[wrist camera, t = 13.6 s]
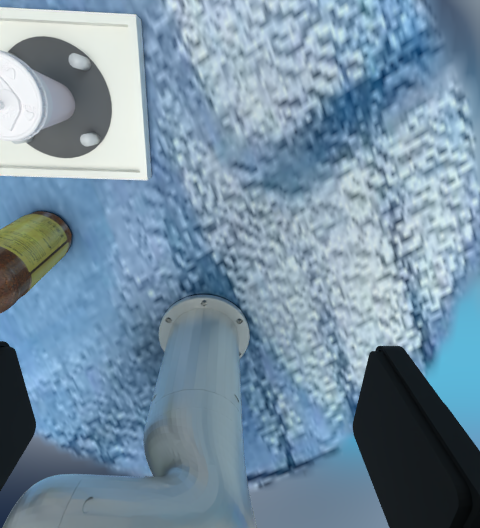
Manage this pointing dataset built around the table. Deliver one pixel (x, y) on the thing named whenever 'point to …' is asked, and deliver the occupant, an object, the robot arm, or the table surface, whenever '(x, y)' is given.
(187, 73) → the table surface
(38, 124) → the smoothie
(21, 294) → the sauce bottle
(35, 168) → the pin tray
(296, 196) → the table surface
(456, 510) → the robot arm
